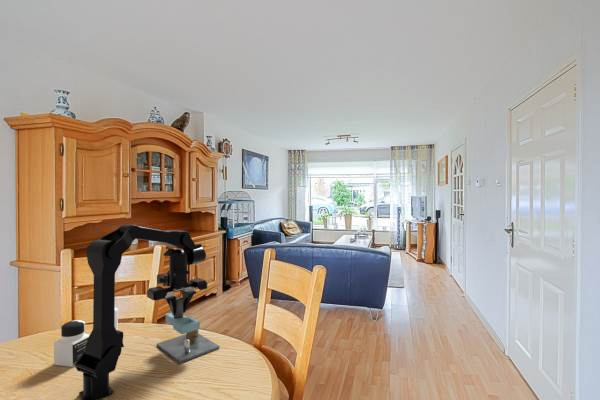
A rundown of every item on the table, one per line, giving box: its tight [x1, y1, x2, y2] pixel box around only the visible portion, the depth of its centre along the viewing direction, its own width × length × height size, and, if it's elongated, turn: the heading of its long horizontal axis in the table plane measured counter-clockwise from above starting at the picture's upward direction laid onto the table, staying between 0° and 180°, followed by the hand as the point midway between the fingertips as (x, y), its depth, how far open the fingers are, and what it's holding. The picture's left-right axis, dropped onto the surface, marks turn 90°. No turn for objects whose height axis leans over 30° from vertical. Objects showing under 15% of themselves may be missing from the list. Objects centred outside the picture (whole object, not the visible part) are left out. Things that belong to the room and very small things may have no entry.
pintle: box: [185, 339, 190, 353], centre depth 105 cm, size 2×2×5 cm
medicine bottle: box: [53, 319, 91, 368], centre depth 101 cm, size 7×7×12 cm
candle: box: [114, 307, 119, 331], centre depth 116 cm, size 6×6×15 cm
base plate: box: [156, 329, 220, 365], centre depth 110 cm, size 17×14×5 cm
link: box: [165, 297, 201, 335], centre depth 108 cm, size 14×6×8 cm, turn 46°
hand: (178, 314), depth 109 cm, fingers closed on link, 3 cm apart
